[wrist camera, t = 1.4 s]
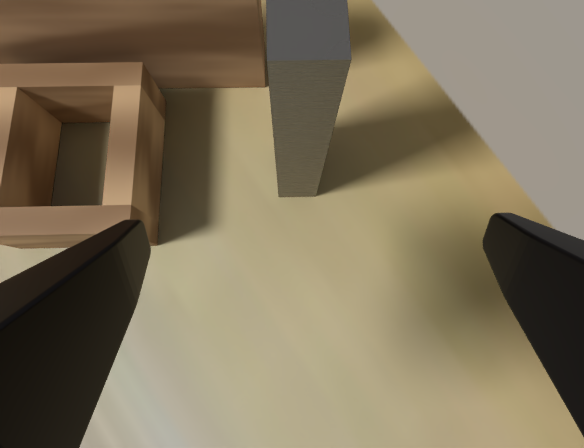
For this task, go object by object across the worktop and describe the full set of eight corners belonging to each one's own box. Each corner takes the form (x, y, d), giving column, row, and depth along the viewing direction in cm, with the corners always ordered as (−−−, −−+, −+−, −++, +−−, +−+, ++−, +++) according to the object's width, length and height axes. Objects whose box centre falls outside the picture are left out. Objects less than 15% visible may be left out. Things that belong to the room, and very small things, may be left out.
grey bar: (315, 196, 23) (351, 59, 10) (278, 197, 23) (266, 60, 10) (313, 139, 24) (343, -53, 11) (277, 140, 23) (265, -53, 11)
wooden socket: (266, 243, 22) (249, 194, 12) (-92, 250, 22) (-405, 207, 12) (265, 49, 25) (250, -113, 15) (-48, 53, 25) (-269, -111, 15)
